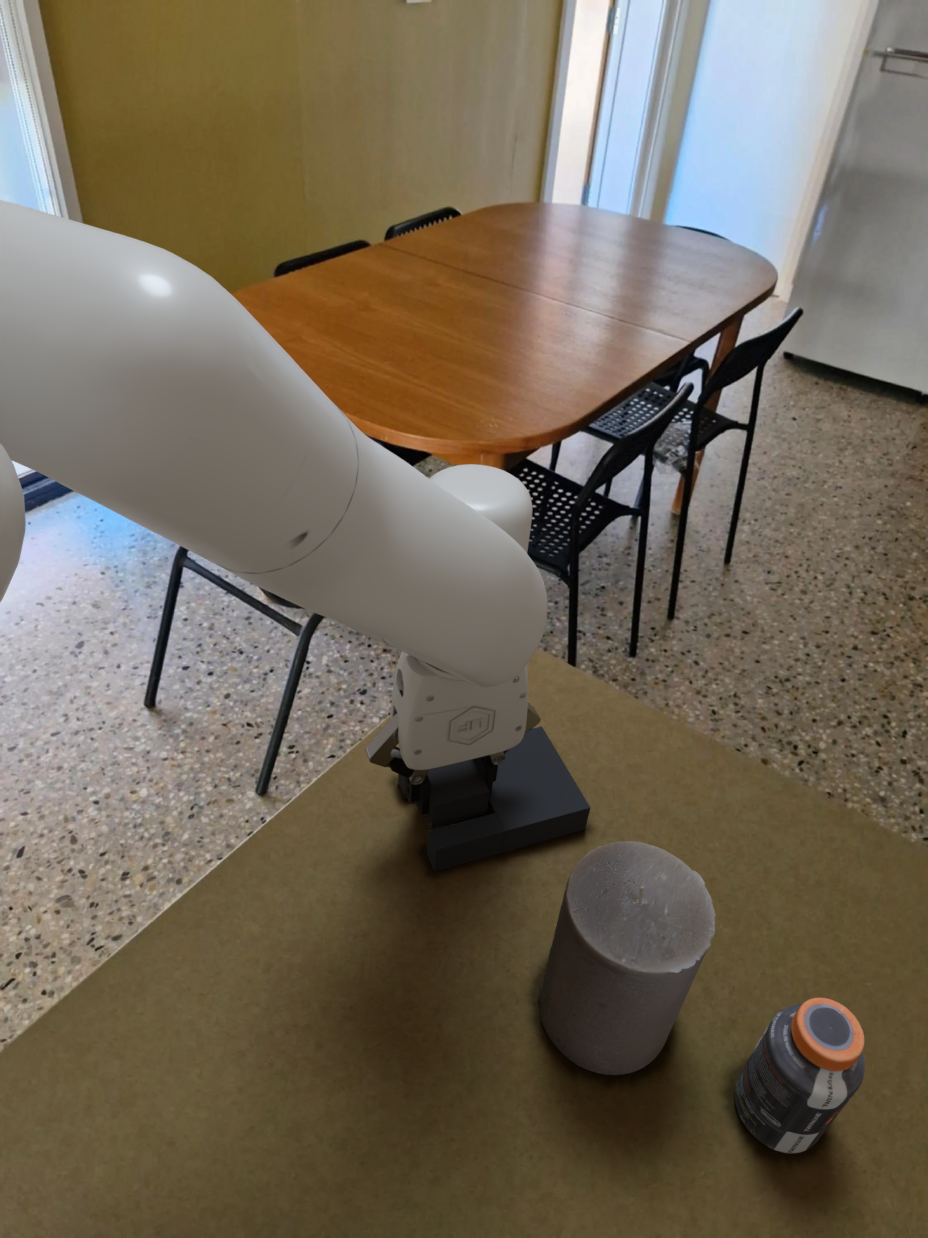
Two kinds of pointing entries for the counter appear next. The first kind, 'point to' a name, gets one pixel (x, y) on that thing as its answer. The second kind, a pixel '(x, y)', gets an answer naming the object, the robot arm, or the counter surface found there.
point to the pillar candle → (624, 955)
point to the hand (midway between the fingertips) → (450, 792)
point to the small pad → (456, 793)
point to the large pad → (515, 807)
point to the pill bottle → (801, 1074)
